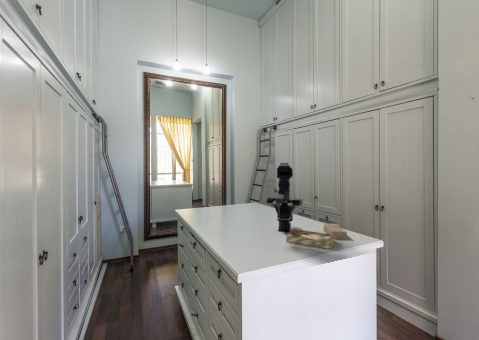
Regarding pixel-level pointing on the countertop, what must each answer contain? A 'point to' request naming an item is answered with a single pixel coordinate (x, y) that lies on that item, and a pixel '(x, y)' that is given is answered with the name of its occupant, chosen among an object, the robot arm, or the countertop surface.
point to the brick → (335, 231)
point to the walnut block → (295, 231)
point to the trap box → (313, 239)
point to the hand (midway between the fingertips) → (284, 216)
